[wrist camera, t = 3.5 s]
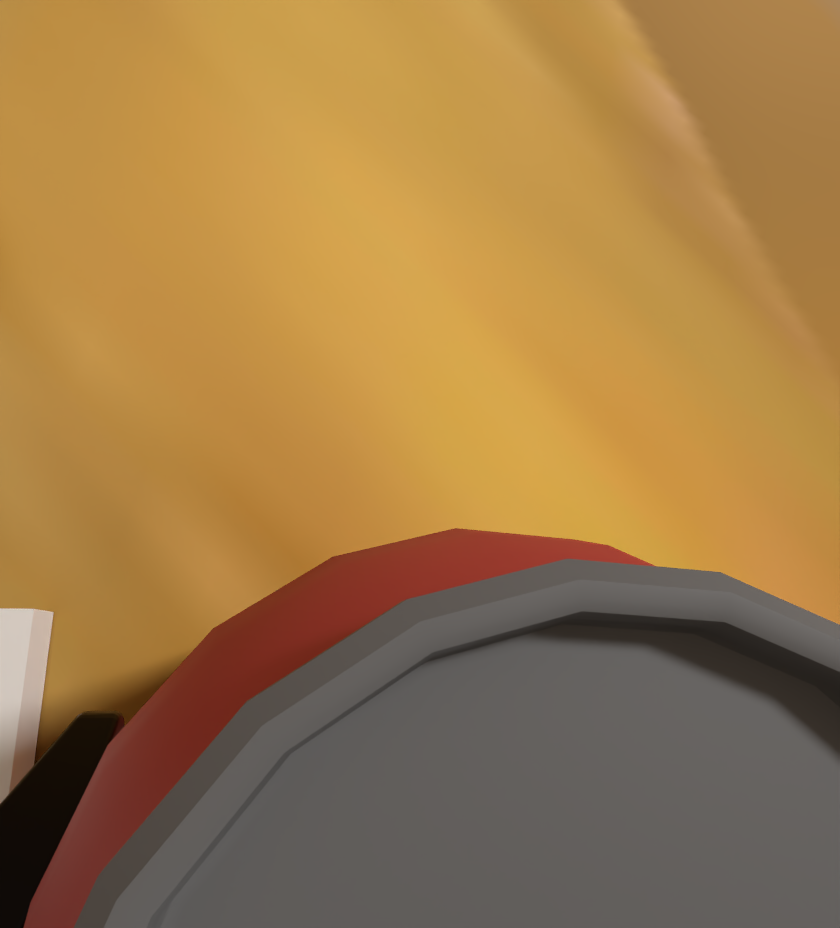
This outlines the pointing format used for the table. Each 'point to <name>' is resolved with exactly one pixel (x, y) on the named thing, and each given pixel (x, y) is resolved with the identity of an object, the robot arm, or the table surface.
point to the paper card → (21, 689)
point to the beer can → (475, 754)
